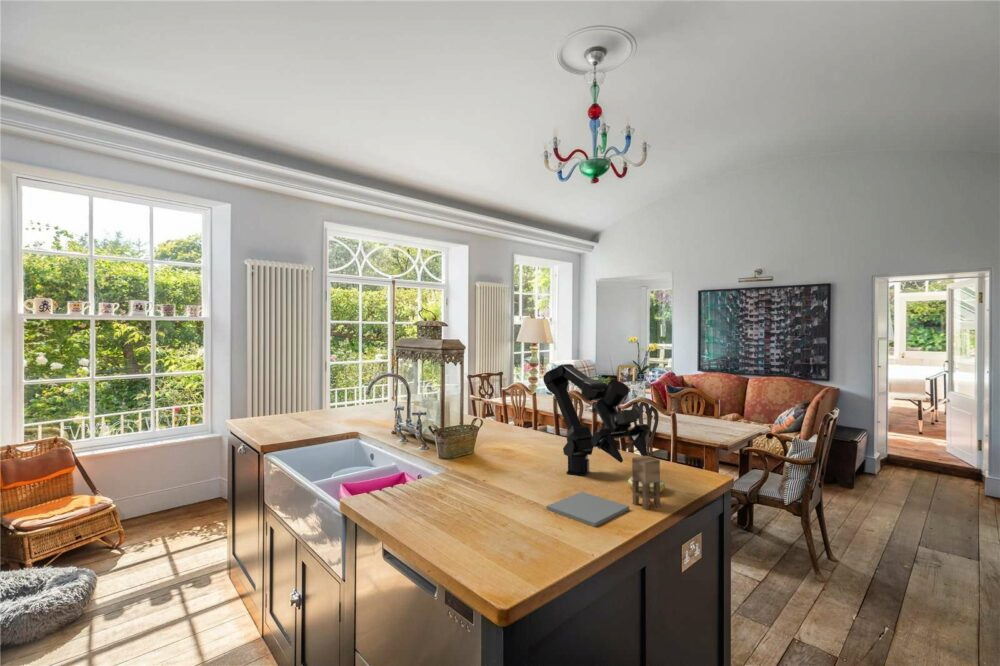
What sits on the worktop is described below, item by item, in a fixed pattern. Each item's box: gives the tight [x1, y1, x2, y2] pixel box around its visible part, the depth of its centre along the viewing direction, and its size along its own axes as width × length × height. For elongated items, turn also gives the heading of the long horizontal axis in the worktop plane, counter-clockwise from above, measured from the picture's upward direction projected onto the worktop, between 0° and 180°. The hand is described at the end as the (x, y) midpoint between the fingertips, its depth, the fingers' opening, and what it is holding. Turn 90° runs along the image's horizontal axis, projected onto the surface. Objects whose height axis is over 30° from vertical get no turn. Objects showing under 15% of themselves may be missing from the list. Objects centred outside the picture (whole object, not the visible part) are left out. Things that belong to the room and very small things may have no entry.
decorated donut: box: [627, 476, 665, 495], centre depth 142 cm, size 10×11×4 cm
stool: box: [631, 455, 661, 511], centre depth 130 cm, size 5×5×13 cm
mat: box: [546, 491, 630, 528], centre depth 127 cm, size 16×16×1 cm
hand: (634, 459), depth 134 cm, fingers open, 9 cm apart
